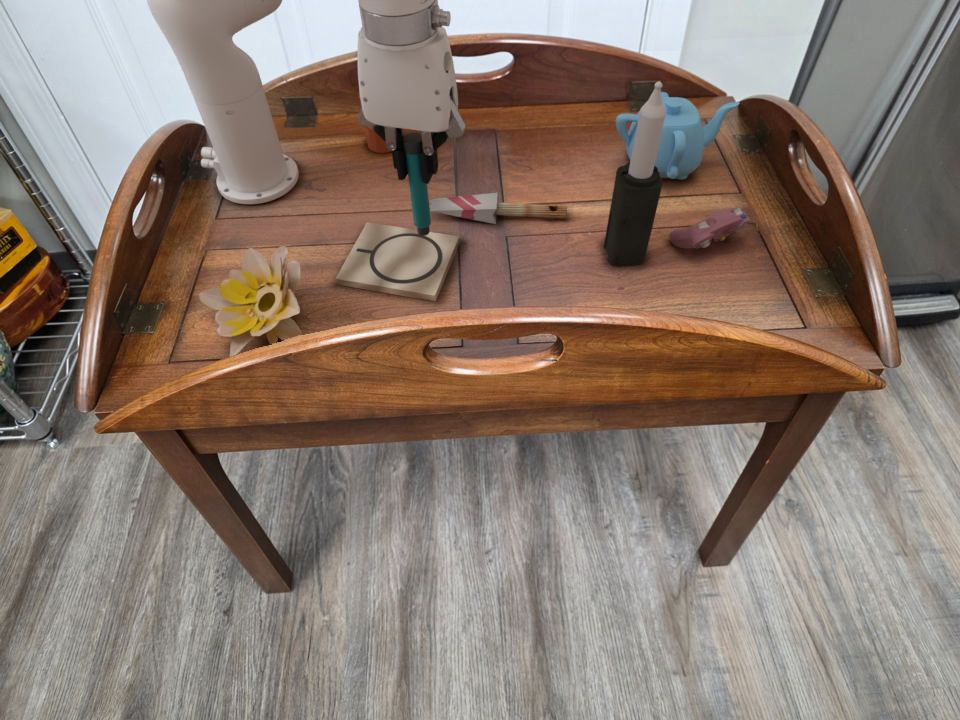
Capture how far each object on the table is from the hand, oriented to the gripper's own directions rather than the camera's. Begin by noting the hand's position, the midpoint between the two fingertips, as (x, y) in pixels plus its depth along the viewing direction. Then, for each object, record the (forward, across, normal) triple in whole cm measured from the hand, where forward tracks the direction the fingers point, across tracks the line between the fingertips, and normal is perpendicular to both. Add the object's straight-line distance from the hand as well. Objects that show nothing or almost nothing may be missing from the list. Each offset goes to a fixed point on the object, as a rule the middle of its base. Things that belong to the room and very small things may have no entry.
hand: (416, 174), depth 79 cm
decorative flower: (+15, +18, +15) cm, 27 cm away
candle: (+15, -26, -8) cm, 31 cm away
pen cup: (+15, +16, -26) cm, 34 cm away
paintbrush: (+15, -7, -12) cm, 20 cm away
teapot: (+15, -30, -30) cm, 45 cm away
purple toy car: (+15, -37, -13) cm, 42 cm away
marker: (+9, 0, 0) cm, 9 cm away
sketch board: (+15, +4, +1) cm, 15 cm away
